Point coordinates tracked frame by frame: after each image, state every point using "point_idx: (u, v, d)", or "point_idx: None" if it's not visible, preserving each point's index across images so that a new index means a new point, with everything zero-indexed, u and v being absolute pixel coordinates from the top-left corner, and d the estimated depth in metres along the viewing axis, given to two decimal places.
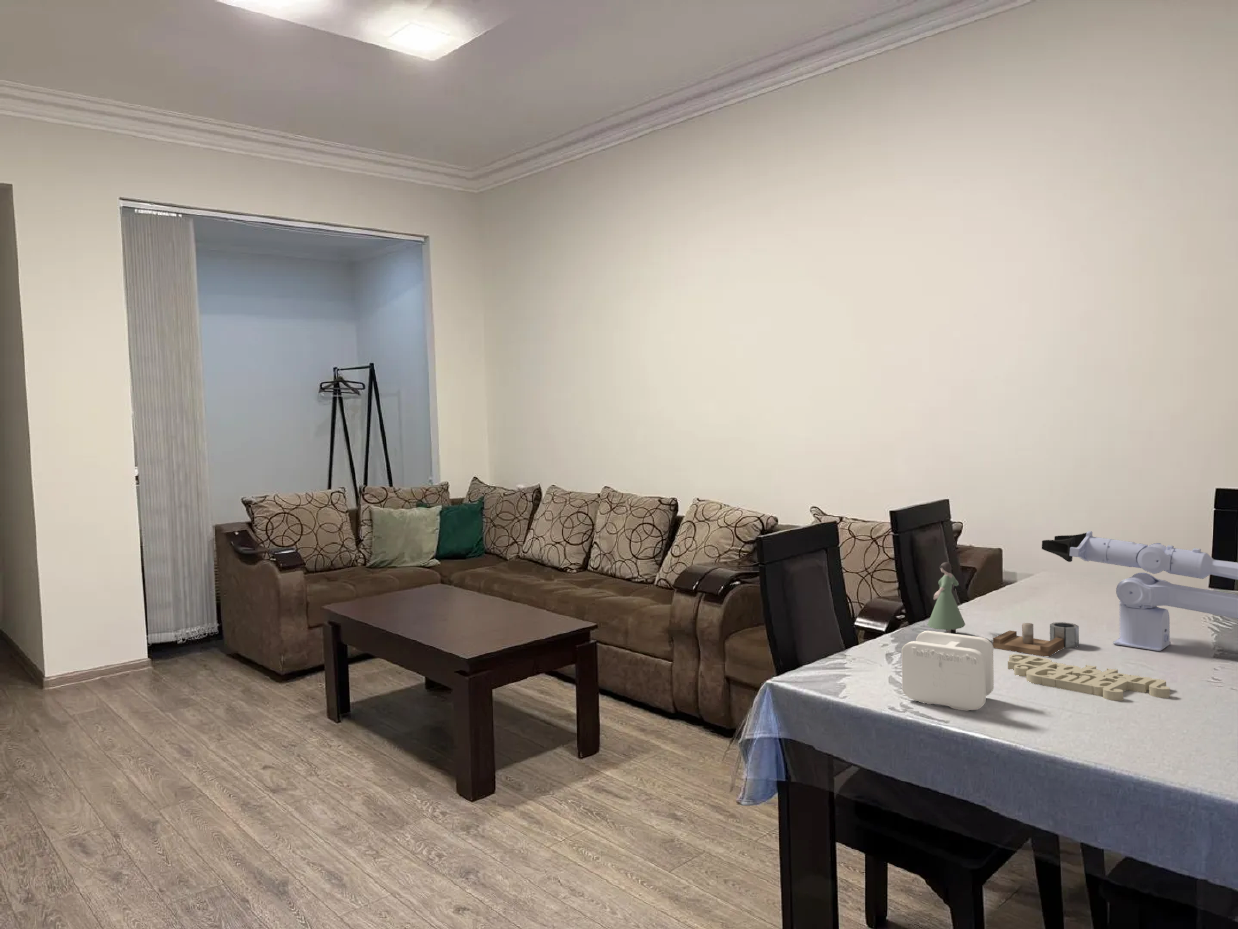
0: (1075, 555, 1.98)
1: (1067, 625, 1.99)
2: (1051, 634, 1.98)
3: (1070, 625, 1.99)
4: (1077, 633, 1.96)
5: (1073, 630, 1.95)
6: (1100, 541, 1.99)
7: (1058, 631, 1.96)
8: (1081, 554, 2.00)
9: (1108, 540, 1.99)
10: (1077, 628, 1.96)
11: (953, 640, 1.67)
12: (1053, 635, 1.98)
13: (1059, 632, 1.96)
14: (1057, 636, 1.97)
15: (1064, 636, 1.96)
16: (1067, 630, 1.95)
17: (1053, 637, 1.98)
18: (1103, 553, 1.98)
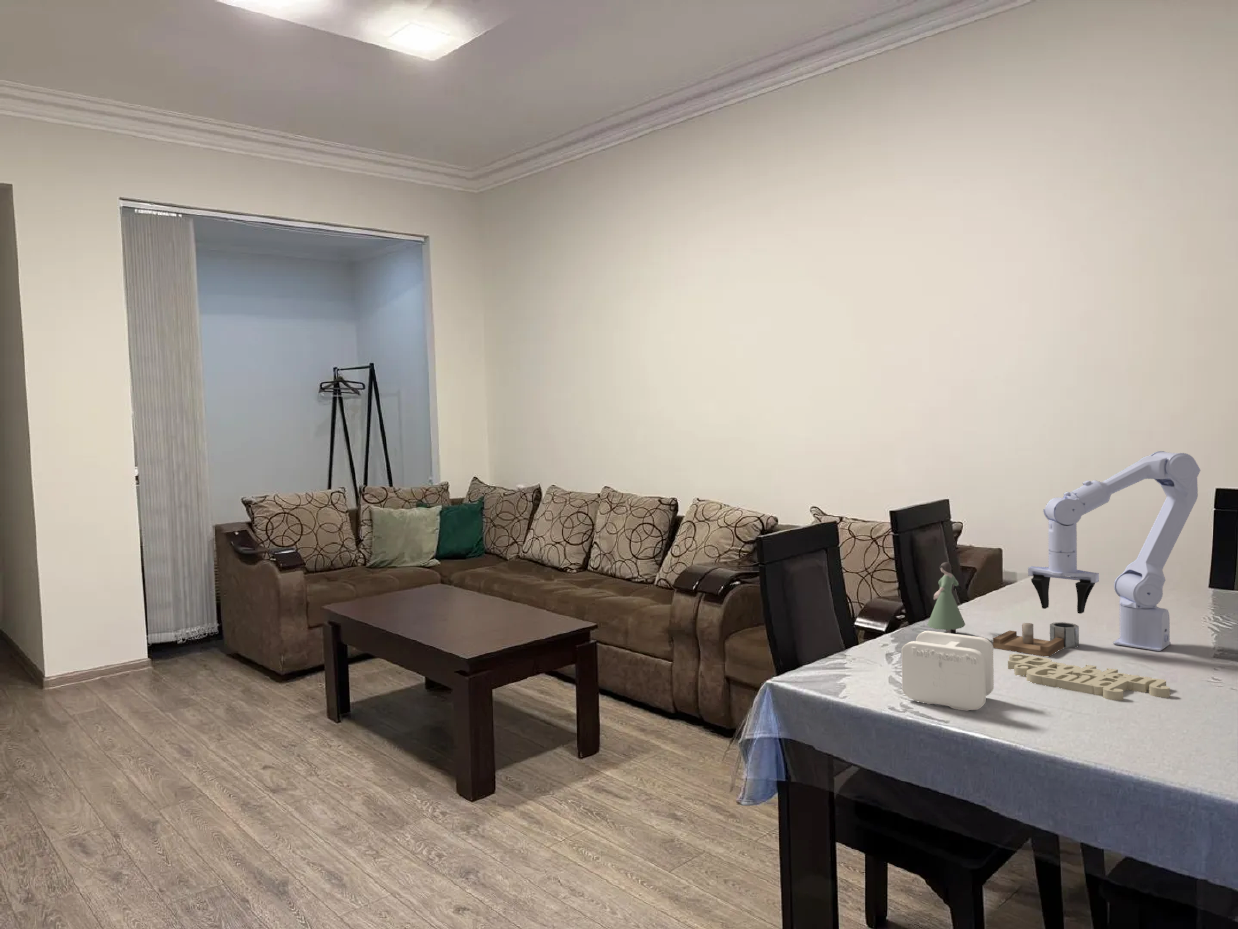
0: (1098, 576, 1.92)
1: (1067, 625, 1.99)
2: (1051, 634, 1.98)
3: (1070, 625, 1.99)
4: (1077, 633, 1.96)
5: (1073, 630, 1.95)
6: (1066, 560, 1.94)
7: (1058, 631, 1.96)
8: (1086, 573, 1.94)
9: (1062, 554, 1.94)
10: (1077, 628, 1.96)
11: (953, 641, 1.67)
12: (1053, 635, 1.98)
13: (1059, 632, 1.96)
14: (1057, 636, 1.97)
15: (1064, 636, 1.96)
16: (1067, 630, 1.95)
17: (1053, 637, 1.98)
18: (1076, 554, 1.95)
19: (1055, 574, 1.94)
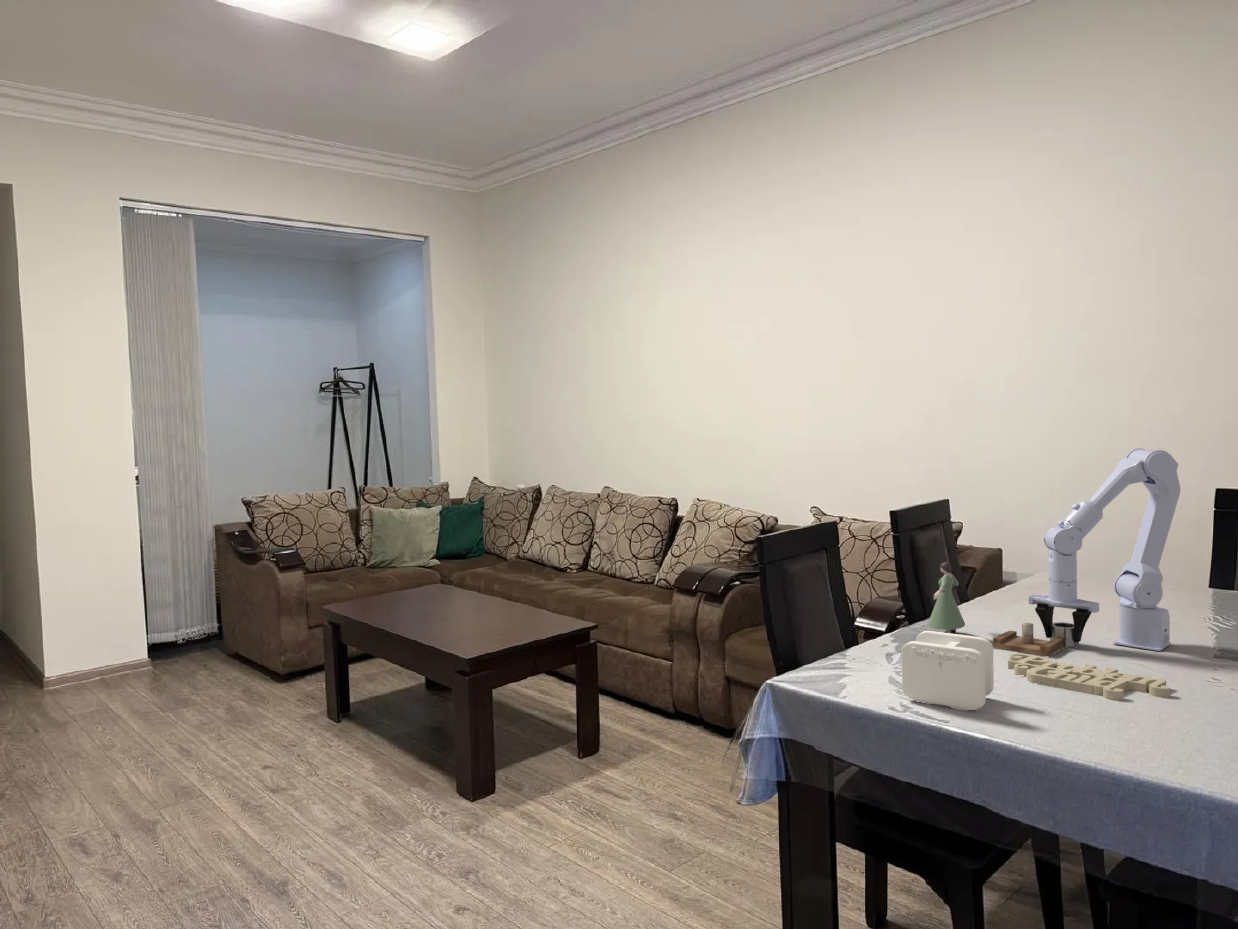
0: (1098, 605, 1.92)
1: (1067, 625, 1.99)
2: (1051, 634, 1.98)
3: (1070, 625, 1.99)
4: None
5: (1073, 630, 1.95)
6: (1066, 590, 1.94)
7: (1058, 631, 1.96)
8: (1086, 602, 1.94)
9: (1062, 583, 1.94)
10: None
11: (953, 641, 1.67)
12: (1053, 635, 1.98)
13: (1059, 632, 1.96)
14: (1057, 636, 1.97)
15: (1064, 636, 1.96)
16: (1067, 630, 1.95)
17: (1053, 637, 1.98)
18: (1076, 584, 1.95)
19: (1055, 604, 1.95)
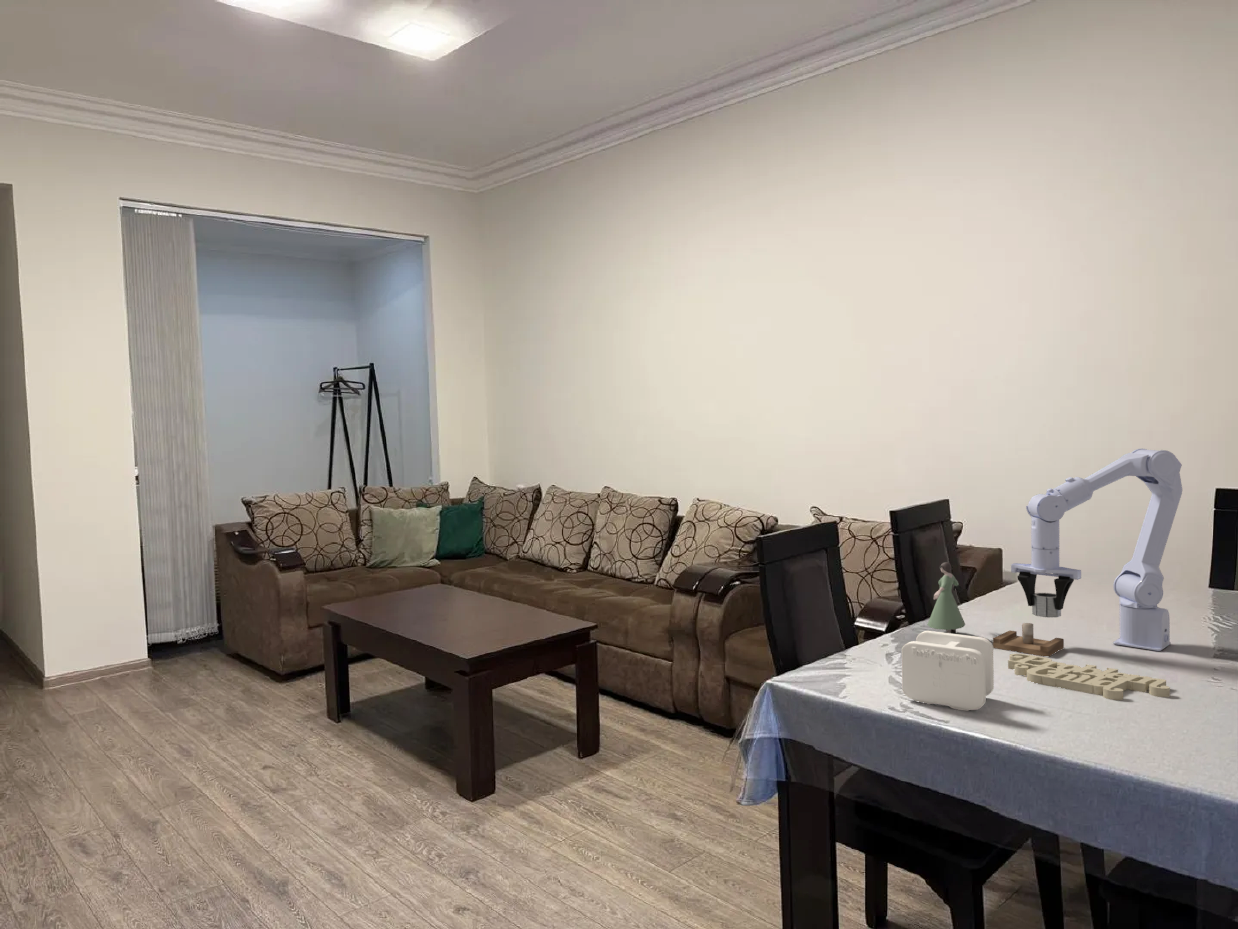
0: (1080, 572, 1.91)
1: (1049, 595, 1.98)
2: (1033, 604, 1.97)
3: (1053, 595, 1.98)
4: None
5: (1055, 600, 1.94)
6: (1048, 557, 1.93)
7: (1040, 601, 1.95)
8: (1068, 570, 1.93)
9: (1044, 551, 1.94)
10: None
11: (953, 640, 1.67)
12: (1035, 605, 1.97)
13: (1041, 601, 1.95)
14: (1039, 605, 1.96)
15: (1046, 605, 1.95)
16: (1049, 599, 1.94)
17: (1035, 607, 1.97)
18: (1058, 551, 1.94)
19: (1037, 571, 1.94)
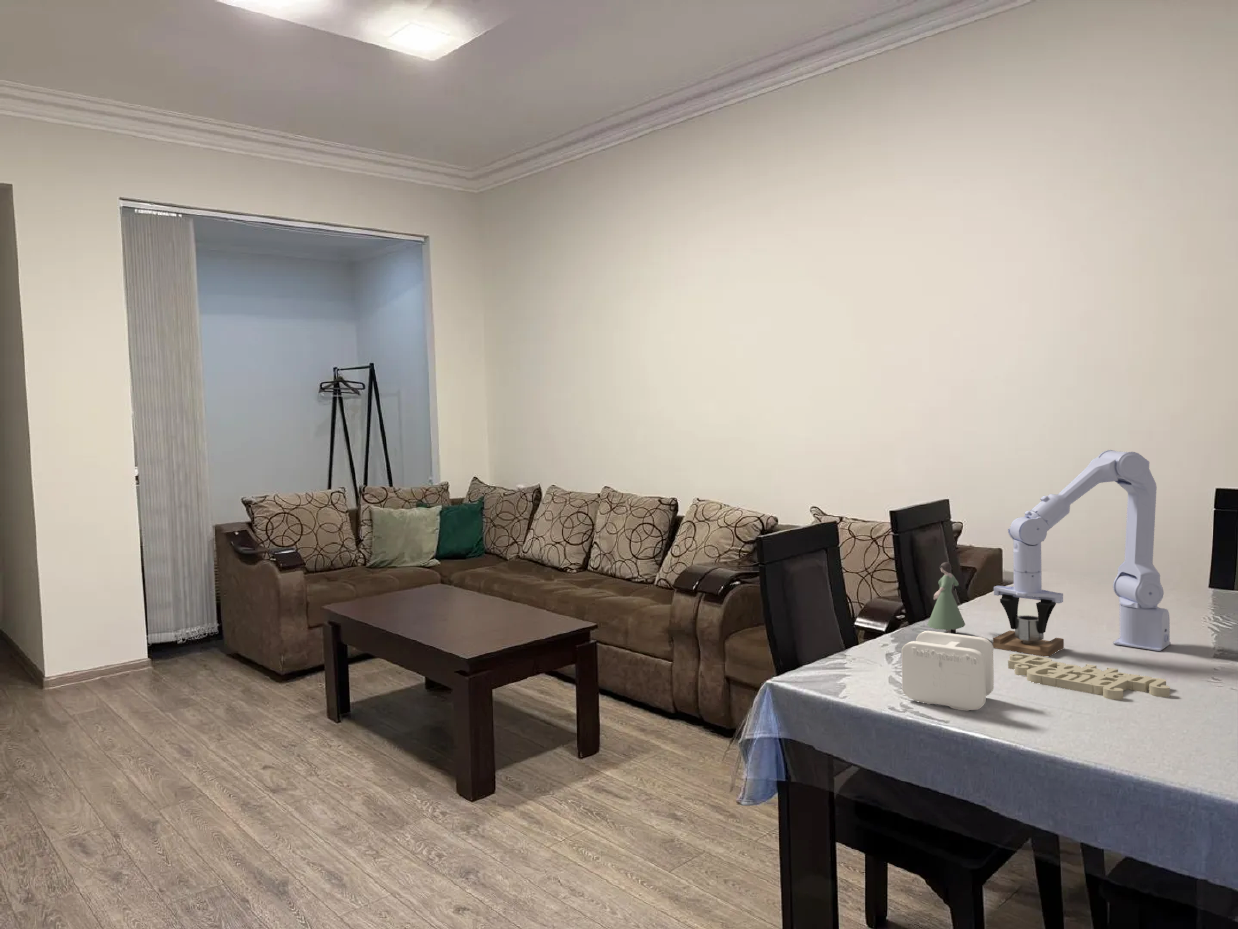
0: (1062, 596, 1.91)
1: (1032, 618, 1.98)
2: (1016, 627, 1.97)
3: (1035, 618, 1.98)
4: None
5: None
6: (1030, 580, 1.93)
7: (1022, 624, 1.95)
8: (1050, 593, 1.93)
9: (1026, 574, 1.93)
10: None
11: (953, 641, 1.67)
12: (1017, 628, 1.96)
13: (1023, 625, 1.95)
14: (1021, 629, 1.95)
15: (1028, 629, 1.94)
16: (1031, 623, 1.94)
17: (1017, 630, 1.96)
18: (1040, 575, 1.94)
19: (1019, 594, 1.93)
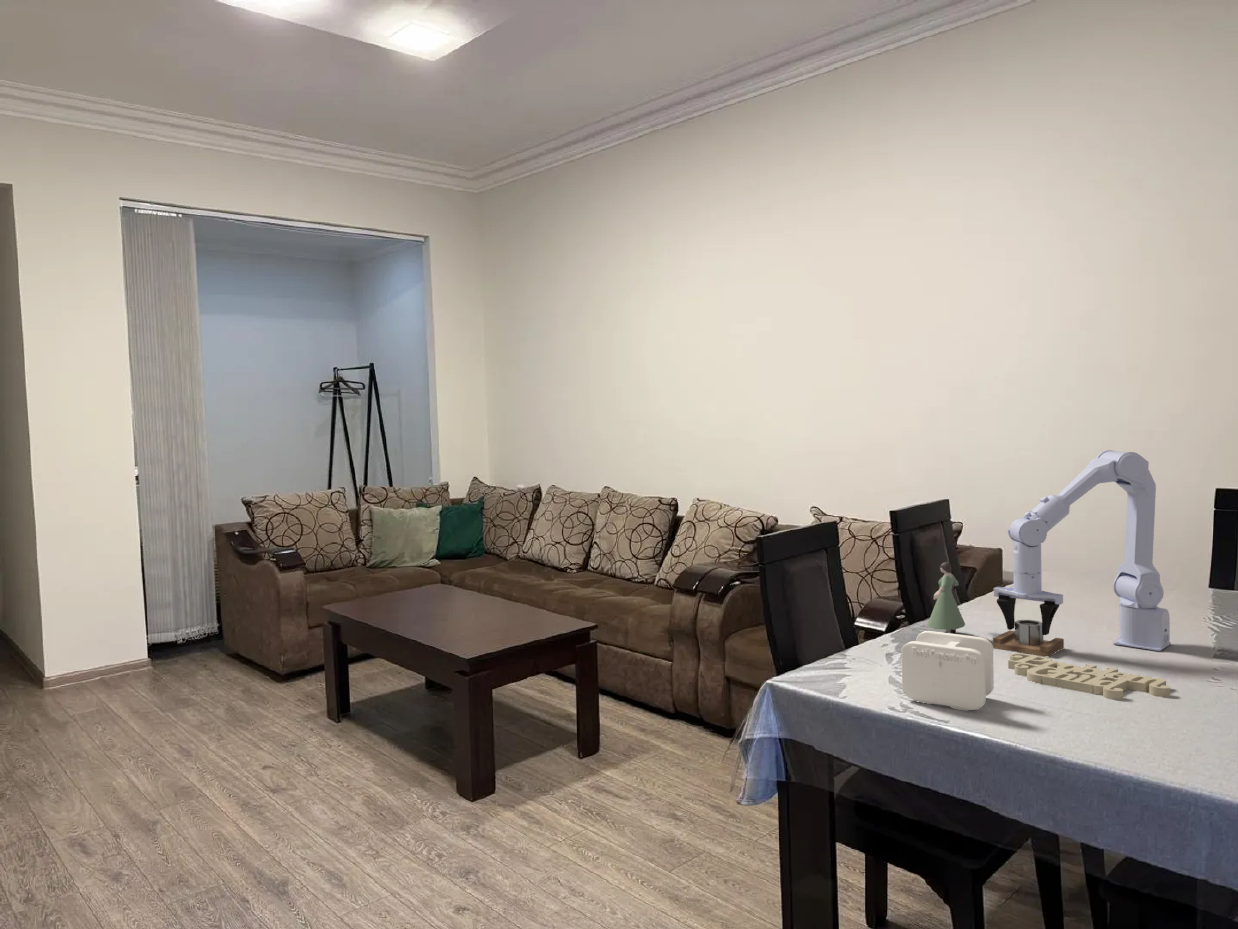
0: (1062, 597, 1.91)
1: (1031, 622, 1.98)
2: (1016, 631, 1.97)
3: (1035, 622, 1.98)
4: (1041, 630, 1.95)
5: (1038, 628, 1.94)
6: (1030, 582, 1.93)
7: (1022, 629, 1.95)
8: (1050, 594, 1.93)
9: (1026, 575, 1.93)
10: (1041, 625, 1.95)
11: (953, 641, 1.67)
12: (1018, 632, 1.96)
13: (1023, 630, 1.95)
14: (1021, 633, 1.95)
15: (1028, 633, 1.94)
16: (1031, 627, 1.94)
17: (1018, 634, 1.96)
18: (1040, 576, 1.94)
19: (1019, 595, 1.93)
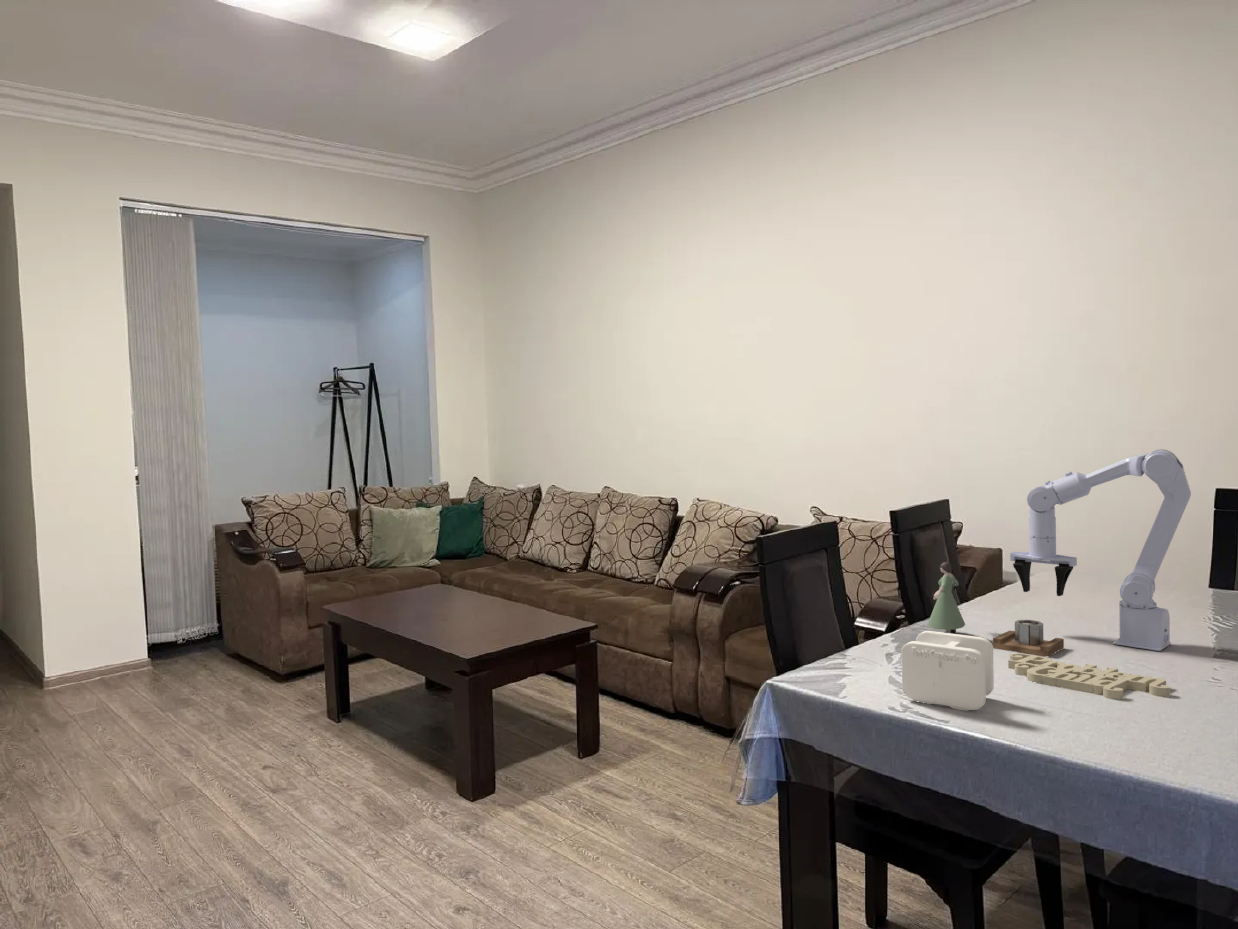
0: (1076, 560, 2.02)
1: (1031, 622, 1.98)
2: (1016, 631, 1.97)
3: (1035, 622, 1.98)
4: (1041, 630, 1.95)
5: (1038, 628, 1.94)
6: (1046, 545, 2.04)
7: (1022, 629, 1.95)
8: (1064, 557, 2.04)
9: (1042, 539, 2.04)
10: (1041, 625, 1.95)
11: (953, 640, 1.67)
12: (1018, 632, 1.96)
13: (1023, 630, 1.95)
14: (1021, 633, 1.95)
15: (1028, 633, 1.94)
16: (1031, 627, 1.94)
17: (1018, 634, 1.96)
18: (1055, 540, 2.04)
19: (1035, 559, 2.04)
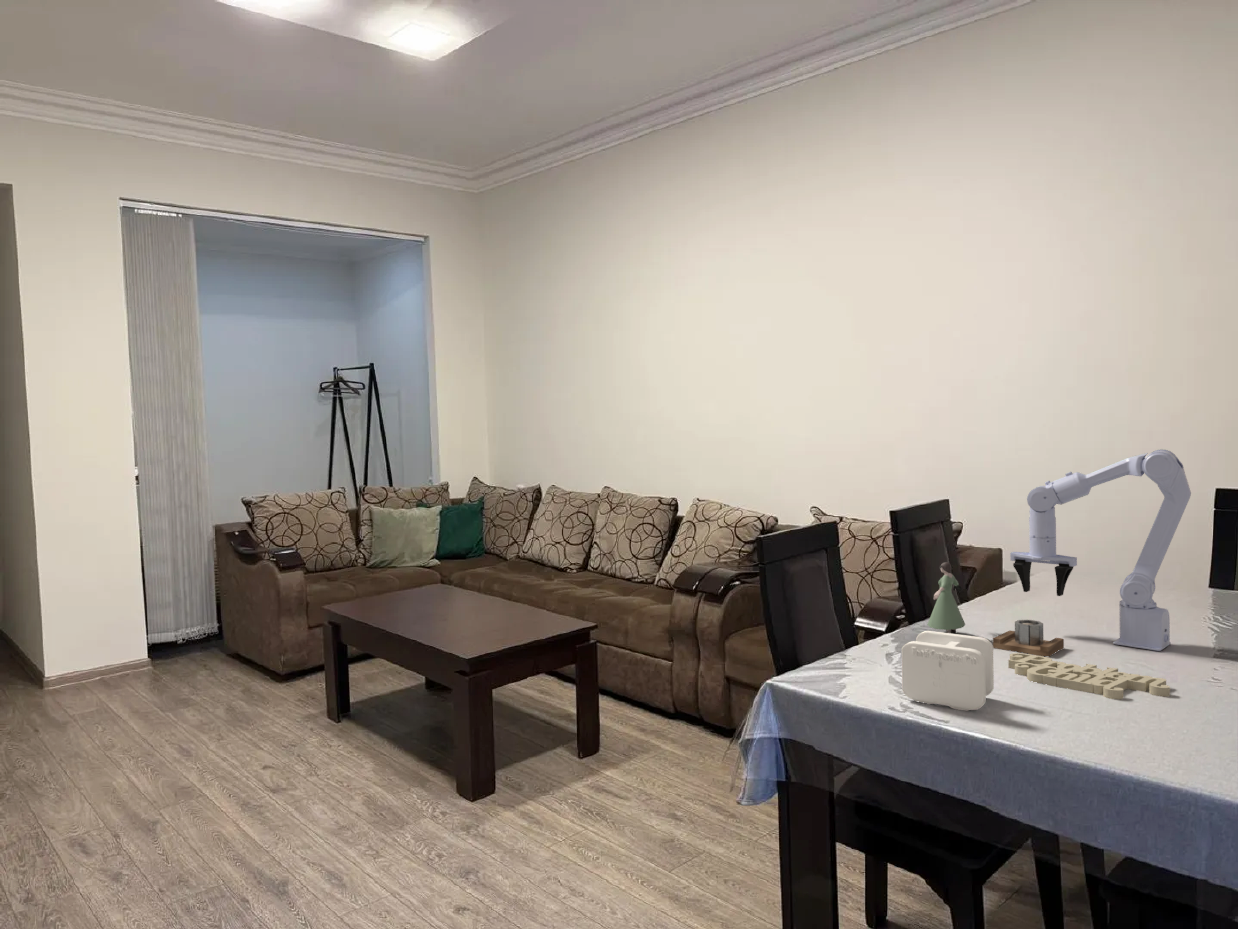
0: (1076, 560, 2.02)
1: (1031, 622, 1.98)
2: (1016, 631, 1.97)
3: (1035, 622, 1.98)
4: (1041, 630, 1.95)
5: (1038, 628, 1.94)
6: (1046, 545, 2.04)
7: (1022, 629, 1.95)
8: (1065, 557, 2.04)
9: (1042, 539, 2.04)
10: (1041, 625, 1.95)
11: (953, 641, 1.67)
12: (1018, 632, 1.96)
13: (1023, 630, 1.95)
14: (1021, 633, 1.95)
15: (1028, 633, 1.94)
16: (1031, 627, 1.94)
17: (1018, 634, 1.96)
18: (1055, 540, 2.04)
19: (1035, 558, 2.04)
